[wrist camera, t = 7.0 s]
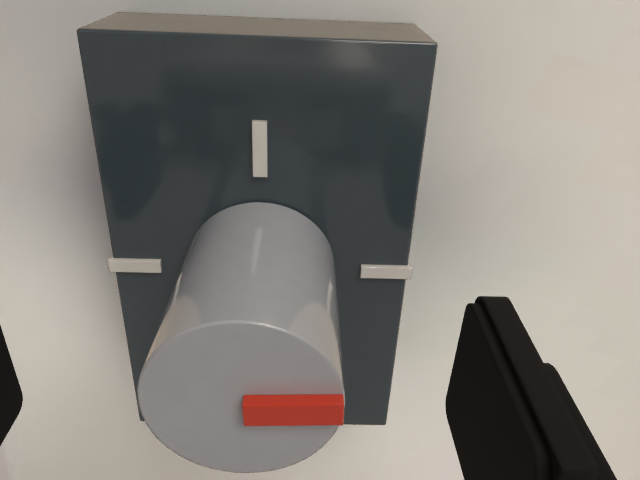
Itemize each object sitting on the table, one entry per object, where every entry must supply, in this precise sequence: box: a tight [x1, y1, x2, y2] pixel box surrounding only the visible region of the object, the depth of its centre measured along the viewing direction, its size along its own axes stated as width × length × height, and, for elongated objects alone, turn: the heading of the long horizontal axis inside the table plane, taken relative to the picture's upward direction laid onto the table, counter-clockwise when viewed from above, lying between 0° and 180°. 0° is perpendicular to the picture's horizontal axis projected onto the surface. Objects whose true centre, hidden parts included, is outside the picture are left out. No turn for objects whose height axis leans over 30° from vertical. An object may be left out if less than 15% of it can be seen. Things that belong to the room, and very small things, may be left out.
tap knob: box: [138, 202, 345, 473], centre depth 13 cm, size 4×4×5 cm
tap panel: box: [77, 12, 438, 425], centre depth 16 cm, size 12×8×3 cm
